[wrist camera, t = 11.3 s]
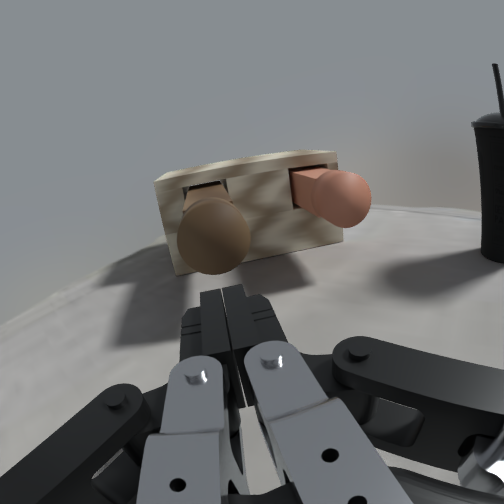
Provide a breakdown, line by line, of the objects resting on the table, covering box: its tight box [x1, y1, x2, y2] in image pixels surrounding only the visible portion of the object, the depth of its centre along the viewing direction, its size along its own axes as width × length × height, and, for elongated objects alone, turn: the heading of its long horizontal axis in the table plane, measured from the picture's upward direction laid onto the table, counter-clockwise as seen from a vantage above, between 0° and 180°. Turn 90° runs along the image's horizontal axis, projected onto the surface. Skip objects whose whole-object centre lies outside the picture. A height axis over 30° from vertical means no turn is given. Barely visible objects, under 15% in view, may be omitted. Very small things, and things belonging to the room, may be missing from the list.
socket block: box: [154, 150, 343, 276], centre depth 37 cm, size 20×12×10 cm, turn 100°
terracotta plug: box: [288, 166, 371, 228], centre depth 31 cm, size 5×16×5 cm, turn 10°
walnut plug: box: [177, 181, 251, 275], centre depth 26 cm, size 5×16×5 cm, turn 10°
